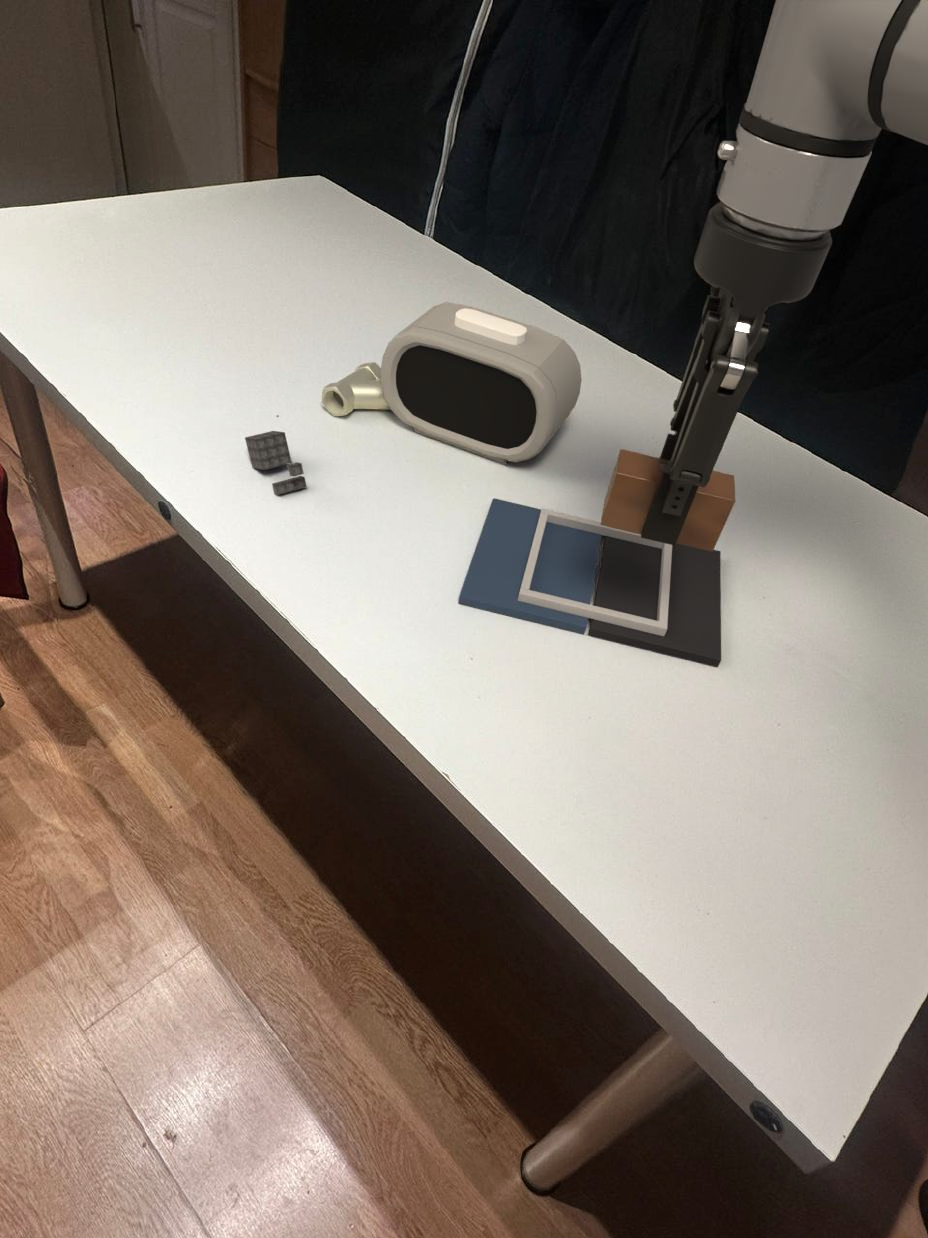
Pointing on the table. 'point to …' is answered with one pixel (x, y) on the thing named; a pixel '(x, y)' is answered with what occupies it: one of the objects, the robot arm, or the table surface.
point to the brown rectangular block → (638, 488)
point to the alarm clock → (481, 381)
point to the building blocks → (275, 459)
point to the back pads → (626, 588)
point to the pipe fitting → (356, 391)
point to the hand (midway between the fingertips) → (659, 522)
